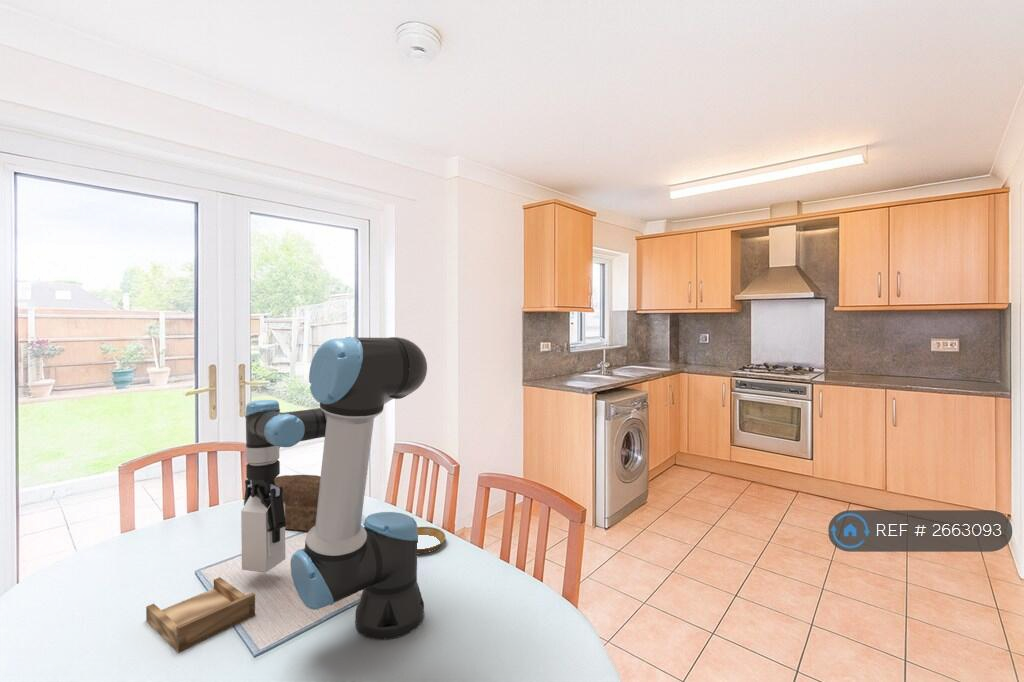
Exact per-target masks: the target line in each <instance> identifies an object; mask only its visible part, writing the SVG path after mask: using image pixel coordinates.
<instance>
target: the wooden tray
mask: <svg viewBox="0 0 1024 682" xmlns="http://www.w3.org/2000/svg"><path fill="white" fill-rule="evenodd" d="M145 608H146V609H145V611H146V612H145V613H146V615H145V617H146V618H145V619H146V620H145V621H146V622H147V623H148V624H149V625H150V626H151V627H152V628H153V629H154V630H155V631H156V632H157V633H158V634H159V635H160V636H161V637H162V638H163V639H164V640H165V641H166V642H167V643H168V644H170V646H171V647H172V648H173V649H174V650H175V651H176V652H177V653H178V654H179V653H181V652H183V651H185V650H187V649H190V648H192V647H194V646H196V645H198V644H200V643H202V642H203V641H207V640H208V639H210V638H213V637H215V636H216V635H218V634H220V633H222V632H224V631H227V630H228V629H230V628H232V627H235V626H236V625H239V624H241V623H242V622H244V621H246V620H249V619H250V618H253V617H256V593H254V592H250V593H248V594H245V593H243V592H242V591H241V590H239V589H238V588H236V587H235V586H233V584H230V583H229V582H228V581H226V580H225V579H223V578H222V577H220V576H218V577H217V578H214V579H213V588H211V589H209V590H206V591H204V592H202V593H200V594H197V595H195V596H192V597H190V598H187V599H184V600H183V601H180V602H178V603H175V604H173V605H171V606H168V607H166V608H163V609H160V607H159V606H157V605H156V604H155V603H152V604H149V605H147V606H146V607H145Z"/></svg>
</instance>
